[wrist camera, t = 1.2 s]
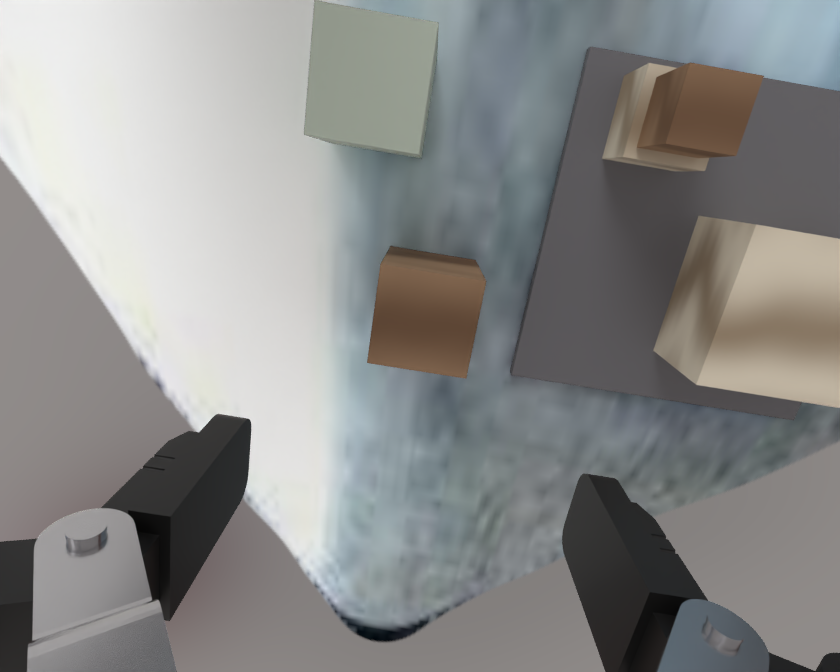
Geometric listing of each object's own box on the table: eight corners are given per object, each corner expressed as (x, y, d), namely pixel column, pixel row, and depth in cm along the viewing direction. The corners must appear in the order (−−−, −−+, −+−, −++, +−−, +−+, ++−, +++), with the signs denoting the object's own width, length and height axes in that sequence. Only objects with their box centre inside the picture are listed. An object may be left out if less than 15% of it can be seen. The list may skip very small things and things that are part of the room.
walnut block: (390, 246, 28) (380, 264, 23) (475, 259, 28) (486, 281, 23) (379, 326, 30) (367, 362, 24) (459, 339, 30) (466, 378, 24)
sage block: (341, 40, 25) (314, 0, 19) (437, 56, 25) (438, 22, 19) (331, 143, 27) (303, 134, 21) (421, 158, 27) (418, 154, 21)
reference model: (624, 75, 25) (682, 45, 19) (700, 89, 25) (781, 64, 19) (601, 158, 26) (650, 154, 20) (675, 171, 26) (743, 170, 20)
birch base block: (698, 215, 27) (756, 224, 22) (838, 239, 27) (925, 253, 22) (653, 350, 29) (696, 384, 24) (781, 371, 29) (848, 409, 25)
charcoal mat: (586, 49, 25) (590, 46, 24) (924, 110, 25) (936, 108, 25) (510, 371, 30) (511, 375, 30) (787, 415, 31) (793, 420, 30)
